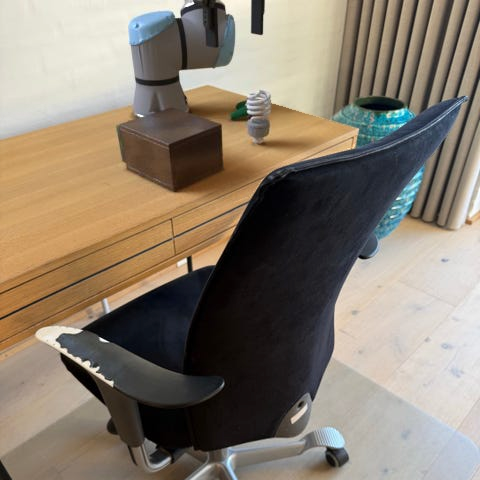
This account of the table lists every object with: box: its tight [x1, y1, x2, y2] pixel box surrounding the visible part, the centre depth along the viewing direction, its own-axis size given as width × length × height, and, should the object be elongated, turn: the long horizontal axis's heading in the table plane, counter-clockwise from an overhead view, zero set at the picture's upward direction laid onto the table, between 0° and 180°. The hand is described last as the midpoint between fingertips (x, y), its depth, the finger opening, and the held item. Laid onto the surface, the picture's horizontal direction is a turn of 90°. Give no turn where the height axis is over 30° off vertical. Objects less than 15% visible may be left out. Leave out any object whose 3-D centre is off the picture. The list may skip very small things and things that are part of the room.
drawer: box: [115, 124, 126, 164], centre depth 104 cm, size 20×13×8 cm
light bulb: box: [246, 89, 272, 145], centre depth 110 cm, size 6×6×12 cm
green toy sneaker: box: [229, 99, 250, 121], centre depth 128 cm, size 9×4×6 cm
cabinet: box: [118, 107, 224, 193], centre depth 101 cm, size 16×14×10 cm
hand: (235, 40), depth 96 cm, fingers open, 13 cm apart
